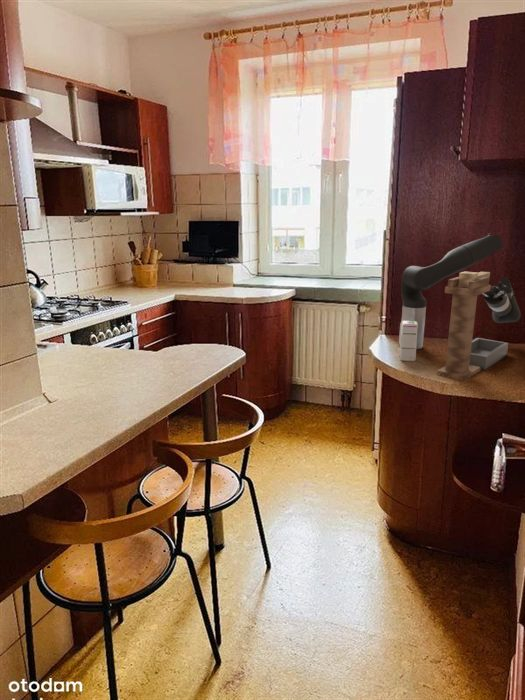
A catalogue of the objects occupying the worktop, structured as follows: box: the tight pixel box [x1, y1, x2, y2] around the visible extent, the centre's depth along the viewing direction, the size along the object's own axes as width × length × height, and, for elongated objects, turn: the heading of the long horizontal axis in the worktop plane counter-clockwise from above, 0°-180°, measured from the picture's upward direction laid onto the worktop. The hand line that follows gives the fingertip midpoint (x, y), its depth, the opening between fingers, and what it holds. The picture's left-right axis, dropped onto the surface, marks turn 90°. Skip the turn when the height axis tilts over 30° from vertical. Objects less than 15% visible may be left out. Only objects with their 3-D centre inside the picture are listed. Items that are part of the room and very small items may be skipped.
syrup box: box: [399, 320, 418, 362], centre depth 194 cm, size 6×6×14 cm
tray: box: [469, 337, 509, 371], centre depth 194 cm, size 12×24×5 cm, turn 138°
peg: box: [458, 271, 491, 287], centre depth 175 cm, size 4×18×4 cm, turn 138°
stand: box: [436, 276, 492, 381], centre depth 175 cm, size 10×14×34 cm
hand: (486, 282), depth 184 cm, fingers open, 8 cm apart
